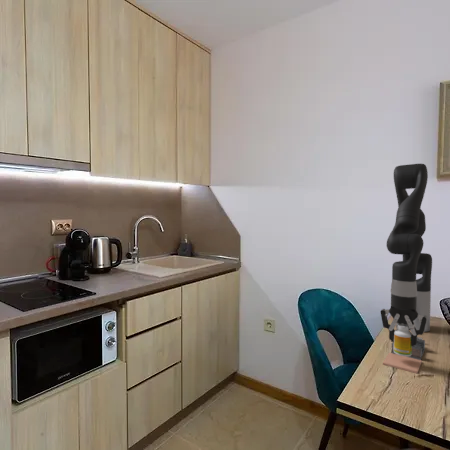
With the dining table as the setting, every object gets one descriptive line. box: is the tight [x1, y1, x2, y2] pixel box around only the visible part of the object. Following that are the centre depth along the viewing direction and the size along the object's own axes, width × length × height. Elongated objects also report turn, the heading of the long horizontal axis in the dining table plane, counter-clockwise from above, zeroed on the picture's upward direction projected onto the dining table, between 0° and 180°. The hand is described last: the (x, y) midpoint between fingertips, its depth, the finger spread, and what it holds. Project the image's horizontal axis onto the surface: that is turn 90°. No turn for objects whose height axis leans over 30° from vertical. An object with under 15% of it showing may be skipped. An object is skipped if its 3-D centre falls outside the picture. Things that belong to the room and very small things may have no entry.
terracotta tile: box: [382, 352, 423, 374], centre depth 108 cm, size 10×10×1 cm
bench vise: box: [391, 336, 426, 360], centre depth 120 cm, size 18×9×4 cm, turn 142°
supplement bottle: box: [394, 323, 412, 357], centre depth 108 cm, size 5×5×10 cm
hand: (402, 343), depth 108 cm, fingers closed on supplement bottle, 5 cm apart
